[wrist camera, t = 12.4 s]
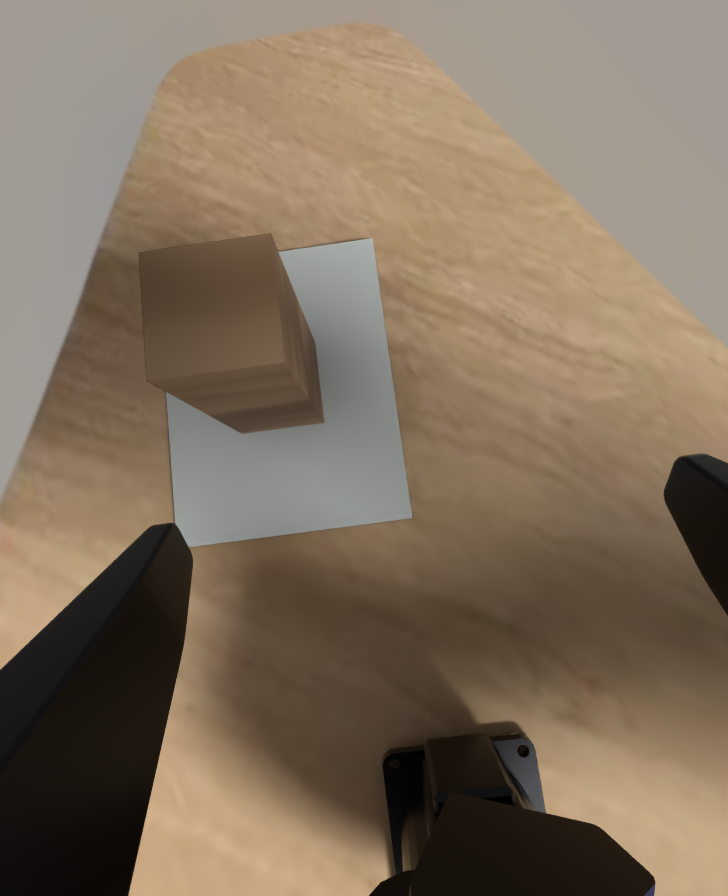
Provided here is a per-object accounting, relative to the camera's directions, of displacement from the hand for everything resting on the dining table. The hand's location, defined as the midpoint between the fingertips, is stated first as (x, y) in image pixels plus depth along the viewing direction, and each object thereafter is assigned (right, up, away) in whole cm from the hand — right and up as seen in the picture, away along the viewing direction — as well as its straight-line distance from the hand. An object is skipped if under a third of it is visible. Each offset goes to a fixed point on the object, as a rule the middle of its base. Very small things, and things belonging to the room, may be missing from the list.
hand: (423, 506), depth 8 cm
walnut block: (-5, +4, +14) cm, 15 cm away
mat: (-5, +4, +15) cm, 16 cm away
